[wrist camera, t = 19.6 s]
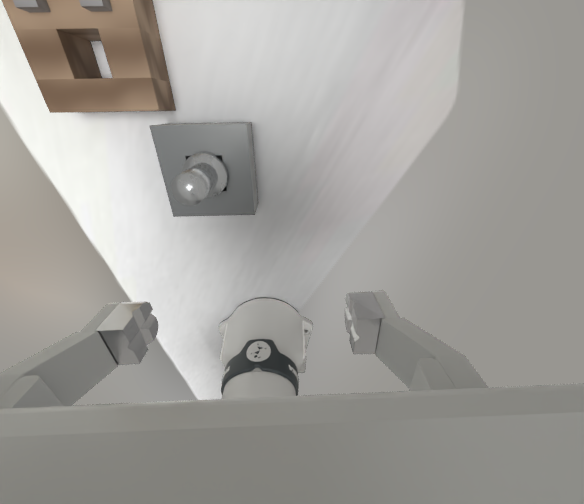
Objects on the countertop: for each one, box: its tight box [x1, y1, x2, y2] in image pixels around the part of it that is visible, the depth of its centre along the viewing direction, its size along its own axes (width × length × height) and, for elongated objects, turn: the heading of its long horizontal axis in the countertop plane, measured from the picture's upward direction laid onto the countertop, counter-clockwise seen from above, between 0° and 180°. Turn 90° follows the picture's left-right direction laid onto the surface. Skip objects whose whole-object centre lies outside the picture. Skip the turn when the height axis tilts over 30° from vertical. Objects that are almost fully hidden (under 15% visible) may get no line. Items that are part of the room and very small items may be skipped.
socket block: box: [2, 0, 176, 112], centre depth 25 cm, size 16×12×6 cm
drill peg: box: [171, 152, 228, 206], centre depth 30 cm, size 5×5×12 cm
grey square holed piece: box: [150, 122, 258, 217], centre depth 33 cm, size 11×11×5 cm
